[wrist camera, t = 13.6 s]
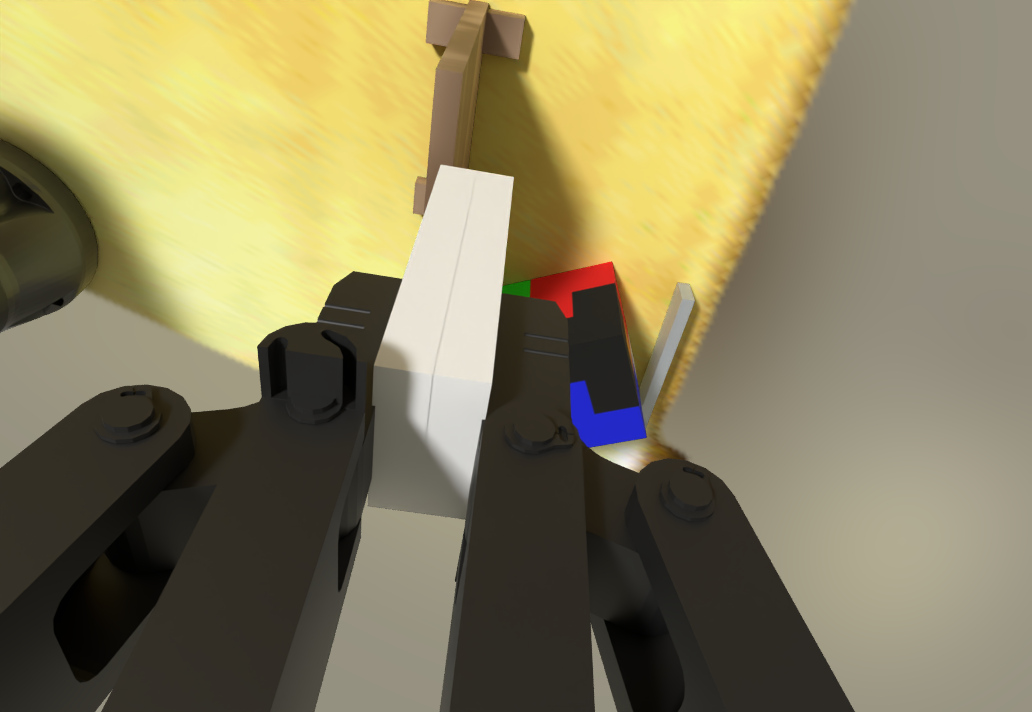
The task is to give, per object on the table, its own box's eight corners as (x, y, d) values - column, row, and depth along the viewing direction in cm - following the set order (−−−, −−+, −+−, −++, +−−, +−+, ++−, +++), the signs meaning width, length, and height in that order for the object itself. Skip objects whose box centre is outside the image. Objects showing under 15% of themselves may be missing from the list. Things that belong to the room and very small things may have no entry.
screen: (415, 209, 52) (371, 331, 39) (432, -8, 43) (381, 58, 30) (492, 222, 52) (474, 347, 39) (526, 10, 43) (516, 83, 30)
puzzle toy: (633, 357, 60) (646, 437, 52) (524, 379, 61) (520, 459, 54) (611, 261, 54) (622, 334, 46) (491, 287, 56) (482, 362, 48)
